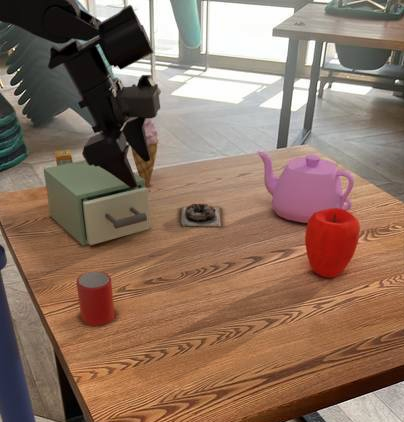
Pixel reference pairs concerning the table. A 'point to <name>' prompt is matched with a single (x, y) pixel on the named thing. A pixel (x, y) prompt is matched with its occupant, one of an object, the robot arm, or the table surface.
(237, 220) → the table surface
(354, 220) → the apple
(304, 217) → the teapot
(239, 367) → the table surface
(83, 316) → the can
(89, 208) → the drawer
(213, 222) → the donut
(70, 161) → the supplement box
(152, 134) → the ice cream cone
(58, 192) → the cabinet
